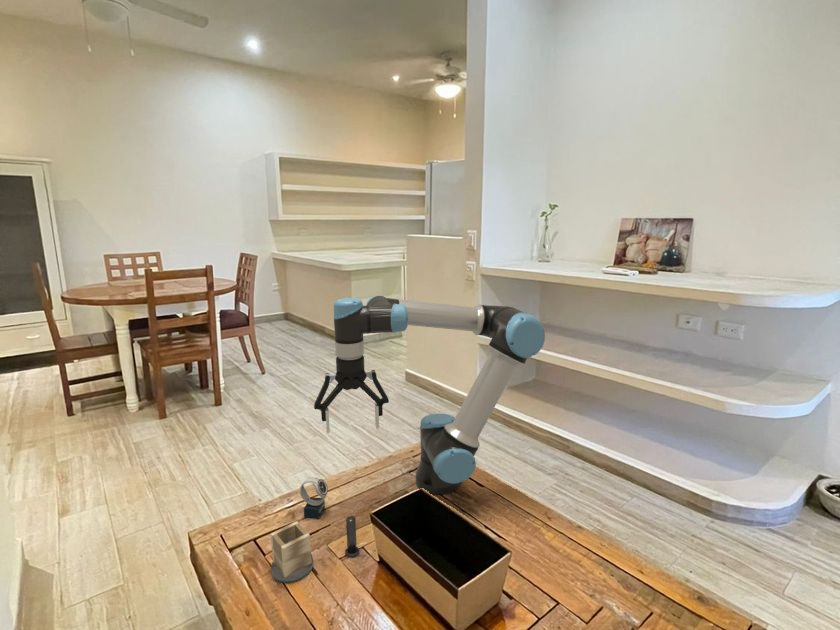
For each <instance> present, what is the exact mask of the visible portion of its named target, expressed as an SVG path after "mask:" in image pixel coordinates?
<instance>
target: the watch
mask: <svg viewBox="0 0 840 630" xmlns="http://www.w3.org/2000/svg"><path fill="white" fill-rule="evenodd" d="M308 483H309V484H312V486H313V487H314V491H315V494H316V495H317V496H319V497H314V496H313V497H311V496H310V495H309V494H308V492H307V490H306V488H305V486H304V485H306V484H308ZM328 491H329V487H328V484H327V483H326V481H325V480H324V479H323V478H319V477H308V478H306V479H305V480H304V481H303V482H302V484H301V486H300V487H299V495H300V496H301V499H302V500H303V501H304V503H306V504H305V506H304V508H303V514H304V515H303V516H304V519H315V520H319V519H320V517H321V516H322V514H323V512H324V510H325V508H326V506H325V505H326V502H325V499H326V497H327V495H328Z"/></svg>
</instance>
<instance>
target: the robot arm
mask: <svg viewBox="0 0 840 630" xmlns="http://www.w3.org/2000/svg"><path fill="white" fill-rule="evenodd" d="M333 325H334V346H335V356H336V358H335V367H336V369H335V370H336V373H335V374H330V373H329V372H328V373H324V381H323V384H322V387H321V388H320V390H319V393H318V394H317V397H316V399H315V401H314V404H313V409H314V410H320V413H321V415H320V416H321V421H322V422H325V424H326V425H325V427H326V434H330V414H329V412H330V411H329V406H330V405H331V404H332V402H333V401H334V400H335V399H336V398H337V396H338V395H339V393H341V392H342V390H345V391H349V390H358V389H359V388H360V389H361V390H362V391H363V392H365V393H366V395H367V396H368V397H370V398H371V399H372V400H373V401H374V402H375V403H374V418H375V419H374V420H375V421H374V422H375V428H376V429H377V430H378V429H380V417H382V416H383V414H384V413H383V406H384V405H385V404H389V402H390V401H389V396H388V395H387V394H386V392H385V389H384V388H383V386H382V385H381V383H380V382H379V380H378V378H377V373H376V370H375V369H371V371H367V372H366V371H365V356H364V354H365V349H364V348H365V347H364V341H365V340H364V335H368V334H384V333H387V334H388V333H398V332H399V333H400V332H404V331H406V330H407V329H408V326H413V327H414V326H415V327H422V328H423V327H424V328H433V329H434V328H435V329H444V330H454V331H455V330H457V331H465V332H466V331H467V332H472V333H473V334H474V335H476V336H484V337H486V338H490V339H491V340H490V341H489V343H488V345H487V346H488V349H489V354H488V356H487V358H486V360H485V362H484V363H483V365H482V368H481V370H480V371H479V373H478V375H477V376H476V378H475V380H474V382H473V385H472V386H471V387H470V390H469V392H468V393H467V395H466V397H465V399H464V400H463V402H462V405H461V406H460V408H459V409H458V412H457V413H456V416H455V417H454V416H453V415H451V414H448V413H432V414H428V415H425V416H424V417H422V418H421V419H420V426H419V428H420V431H419V432H420V433H419V434H420V439H419V440H420V460H419V463H418V467H417V468H416V469H417V470H416V472H415V484H416V486H417V487H418V488H419V489H420V488H424V489H425V490H427V491H429V492H430V493H429V494H431V493H432V495H445V494H449V493H452V492H455V491H456V490H457V489H458V488H460V485H461V483H463V482H465V481H467V480H468V479H470V477H471V476H472V475H474V472H475V469H476V466H477V463H476V457H475V455H476V454H477V451H478V449H479V448H480V441H479V437H480V434H481V433H482V431H483V429H484V428H485V425H486V424H487V422H488V421H489V418H490V416H491V415H492V412H493V411H494V409H495V408H496V406H497V404H498V402H499V399H500V398H501V397H502V394H503V393H504V391H505V389H506V387H507V386H508V384H509V381H510V379H512V376H513V374H514V373H515V371H516V368H518V367H521V366H524V365H525V364H526V362H527V360H528V358H531V357H533V356H535V355H537V354H538V353H539V352H540V351H541V350H542V348H543V346H544V344H545V341H546V340H545V339H546V332H545V329H544V326H543V324H542V323H541V321H540V320H539V319H538V318H536V317H534V316H533V315H532V314H530V313H528V312H525V311H521V310H519V309H517V308H515V307H512V306H507V305H486V304H477V305H476V306H475V307H474V306H465V305H464V306H462V305H456V304H455V305H453V304H446V303H436V302H429V301H427V302H426V301H418V300H408V299H399V298H398V299H397V298H389V297H385V296H383V295H374V296H371V297H370V298H369V299H368V300H367V302H366V305H364V304H363V301H362V299H360V298H358V297H357V298H356V297H354V298H353V297H345V298H339V299H337V300H335V302H334V303H333ZM366 378H368V379H369V380H371V381H372V383H373V384H374V386H375V388H376V390H377V392H378V393H379V395H380V396H381V398H380V397H379V395H377V393H376V392H374V391H373V390H372V389H371V388H370V386H368V385H367V383H366V382H365V381H366ZM334 380H335V381H336V383H337V384H336V386H335V387H334V388H333V390H332V391H331V392H330V394H329V395H328V396H327V397H326V398H325V400H324V401H323V399H324V397H325V395H326V393H327V391H328V389H329V386H330V384H332V383H333V381H334ZM322 401H323V402H322Z"/></svg>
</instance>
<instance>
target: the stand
mask: <svg viewBox="0 0 840 630" xmlns="http://www.w3.org/2000/svg"><path fill="white" fill-rule="evenodd" d="M345 522H346V523H345V524H346V525H345V526H346V527H345V528H346V542H347V543H346V544H347V545H346V546H347V547H346V548H345V551H344V552H345V556H346V557H347V558H350V559H353V558H356V557H358V556H359V554H360V548H359V547H358V544H357V527H356V526H357V525H356V516H354V515H349V516H347V517H346V518H345Z"/></svg>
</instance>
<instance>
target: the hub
mask: <svg viewBox="0 0 840 630" xmlns="http://www.w3.org/2000/svg"><path fill="white" fill-rule="evenodd" d="M295 539H296V538H288V539H287V540H286V541H285V544H287V543H289V542H291V541H293V540H295ZM313 559H314V558H313V555H312V553H311V561H312V563H311V564H309V565H307V566H305V567H303V568H302V569H300V570H298V571H296V572H295V573H293V574H291V575H289V576H287V577H286V578H285V577H284V575H283V574H282V573H281V571H280V570H279V569H278V567H277V566H276V565H275V563H274V562H273V561H272V563H271V565H270V567H271V575H272V578H273V579H274V580H275V581H276V582H278V583H280V584H293V583H296V582H299V581H301V580H303V579H305V578H306V577H307V576H308V575H309V574H310V573H311V572H312V569H313V567H314V560H313Z"/></svg>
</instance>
